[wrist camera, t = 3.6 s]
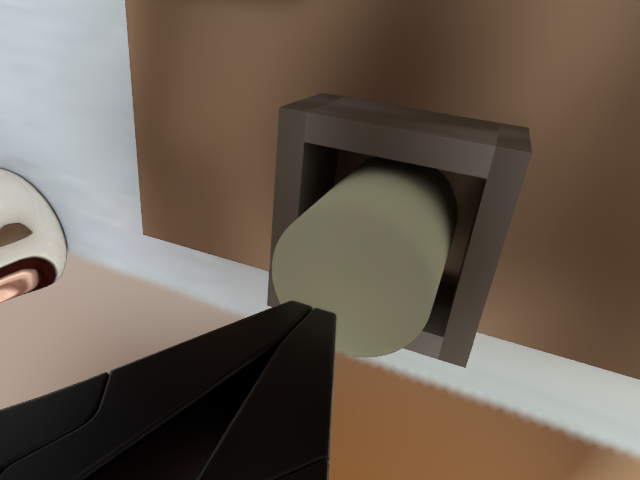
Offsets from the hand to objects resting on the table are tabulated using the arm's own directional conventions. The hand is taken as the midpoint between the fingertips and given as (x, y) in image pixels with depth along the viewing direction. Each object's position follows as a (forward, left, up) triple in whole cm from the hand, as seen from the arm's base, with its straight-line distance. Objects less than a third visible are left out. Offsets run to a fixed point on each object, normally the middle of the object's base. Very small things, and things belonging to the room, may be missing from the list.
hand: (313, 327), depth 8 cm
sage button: (0, 0, -6) cm, 6 cm away
